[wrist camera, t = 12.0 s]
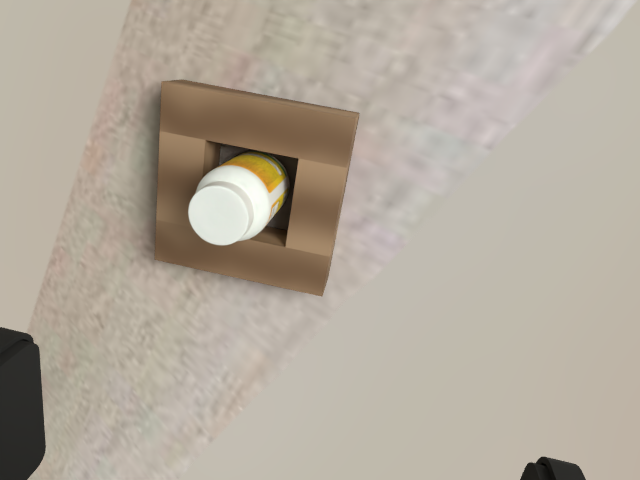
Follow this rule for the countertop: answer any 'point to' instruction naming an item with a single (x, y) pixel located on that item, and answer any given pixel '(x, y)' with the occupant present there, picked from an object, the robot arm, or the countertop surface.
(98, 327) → the countertop surface
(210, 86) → the socket block
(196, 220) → the supplement bottle
